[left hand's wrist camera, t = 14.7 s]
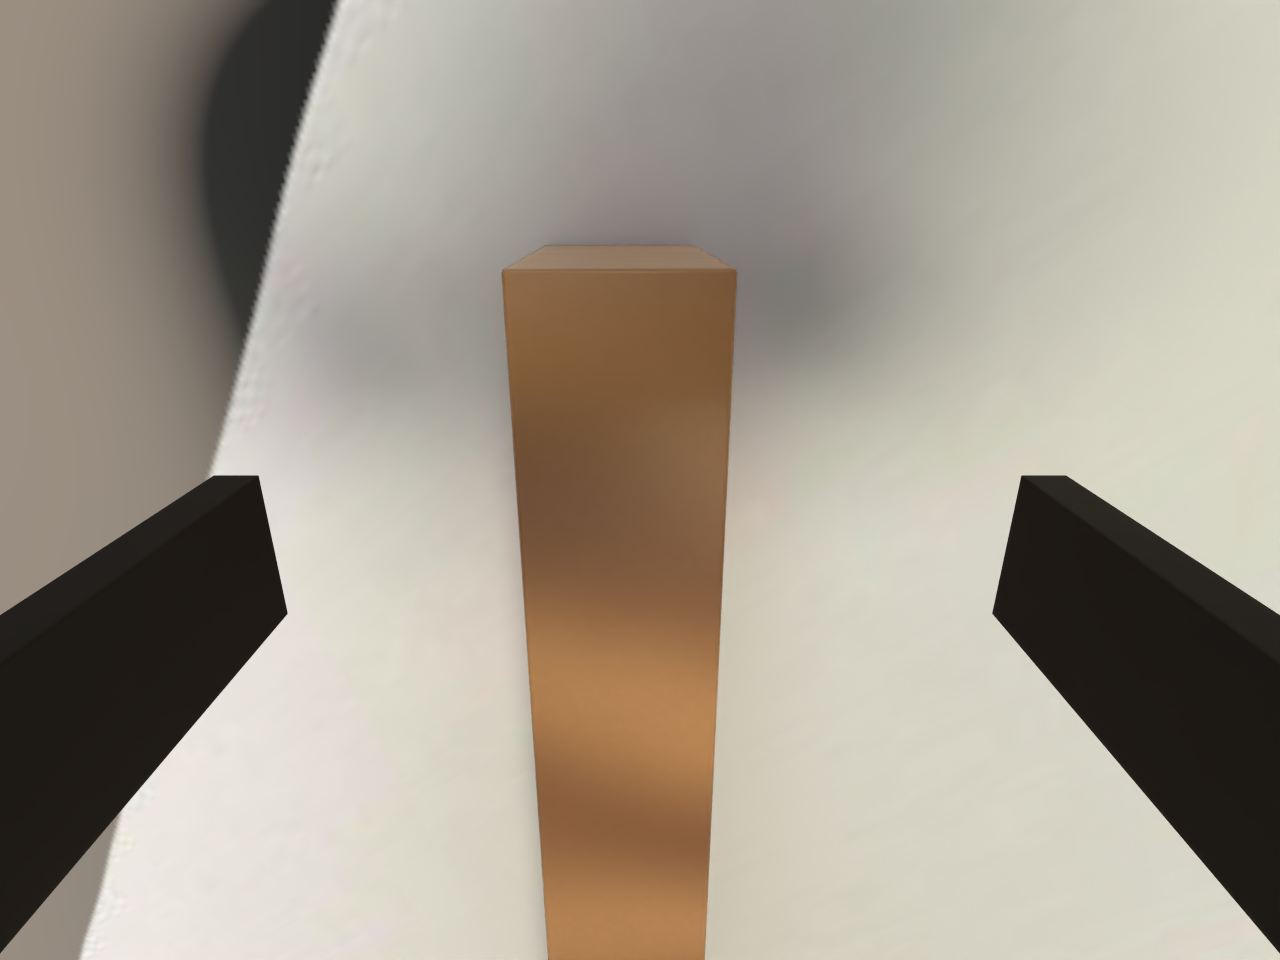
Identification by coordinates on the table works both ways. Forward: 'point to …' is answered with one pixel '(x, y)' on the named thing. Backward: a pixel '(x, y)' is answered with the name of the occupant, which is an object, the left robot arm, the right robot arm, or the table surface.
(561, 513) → the bar
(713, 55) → the table surface
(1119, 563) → the left robot arm
